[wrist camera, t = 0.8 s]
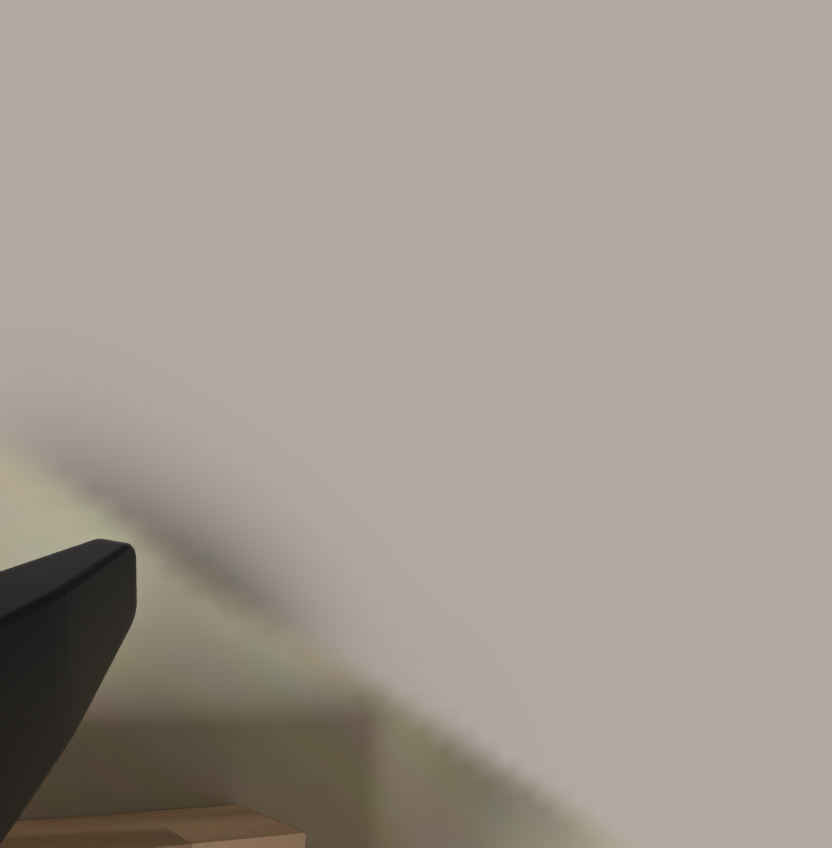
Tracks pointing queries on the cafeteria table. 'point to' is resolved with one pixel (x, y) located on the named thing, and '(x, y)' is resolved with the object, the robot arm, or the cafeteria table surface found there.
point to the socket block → (158, 830)
